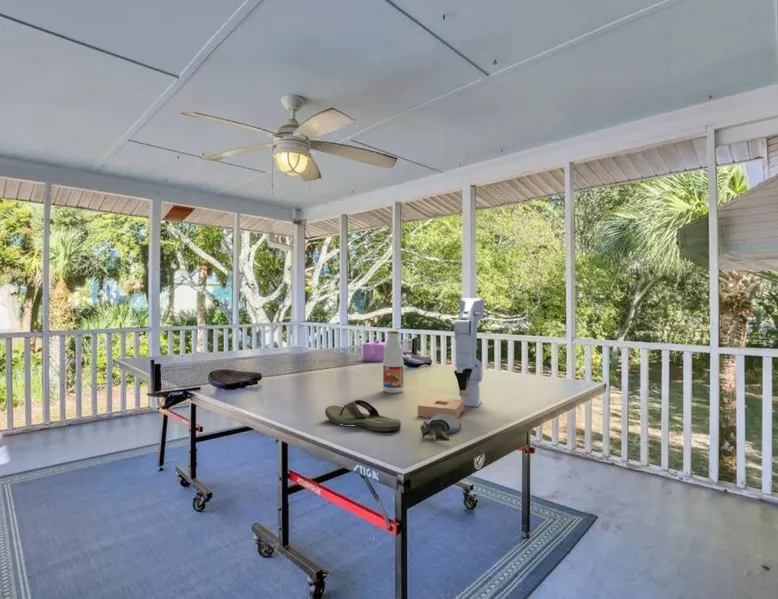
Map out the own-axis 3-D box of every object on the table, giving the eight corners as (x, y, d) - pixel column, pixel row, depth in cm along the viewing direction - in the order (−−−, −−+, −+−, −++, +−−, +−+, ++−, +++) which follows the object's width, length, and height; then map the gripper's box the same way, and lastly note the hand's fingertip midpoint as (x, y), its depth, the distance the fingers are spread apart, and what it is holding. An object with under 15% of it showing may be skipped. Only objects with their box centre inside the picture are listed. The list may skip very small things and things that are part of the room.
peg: (460, 394, 164) (460, 375, 164) (468, 395, 163) (468, 376, 162) (458, 396, 161) (458, 377, 161) (467, 397, 160) (467, 377, 159)
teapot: (358, 362, 290) (358, 341, 289) (373, 357, 313) (373, 337, 313) (379, 363, 284) (379, 342, 284) (393, 358, 308) (393, 338, 307)
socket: (428, 407, 174) (428, 397, 174) (464, 410, 169) (464, 400, 169) (417, 416, 161) (417, 405, 161) (455, 420, 156) (455, 409, 156)
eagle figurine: (422, 440, 131) (452, 435, 131) (418, 417, 135) (447, 412, 135) (424, 446, 138) (452, 441, 137) (420, 424, 141) (447, 419, 141)
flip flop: (320, 422, 155) (320, 398, 155) (342, 414, 164) (342, 392, 164) (387, 437, 138) (387, 411, 138) (407, 428, 148) (407, 403, 148)
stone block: (463, 433, 147) (438, 422, 153) (465, 420, 146) (440, 409, 152) (445, 444, 138) (419, 432, 144) (447, 430, 137) (421, 418, 143)
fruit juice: (407, 391, 203) (407, 331, 203) (392, 394, 197) (392, 332, 196) (393, 388, 210) (393, 329, 210) (379, 390, 204) (379, 330, 203)
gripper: (470, 355, 153) (470, 394, 153) (477, 350, 167) (477, 386, 167) (450, 354, 156) (450, 392, 156) (459, 349, 169) (459, 384, 170)
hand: (463, 389), depth 162 cm, fingers closed on peg, 3 cm apart
